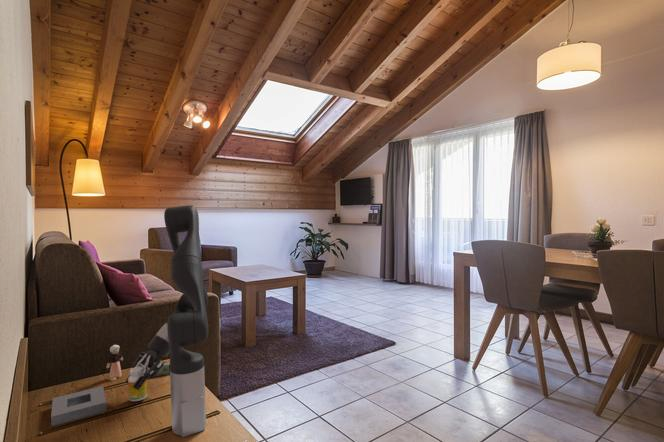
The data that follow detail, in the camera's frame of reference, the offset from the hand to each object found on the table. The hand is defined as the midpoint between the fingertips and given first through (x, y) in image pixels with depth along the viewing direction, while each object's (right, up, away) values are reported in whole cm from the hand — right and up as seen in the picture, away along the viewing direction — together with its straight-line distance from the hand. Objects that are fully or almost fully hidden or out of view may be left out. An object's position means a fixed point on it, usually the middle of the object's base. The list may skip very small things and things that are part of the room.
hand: (131, 385), depth 125 cm
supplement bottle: (+1, -5, +2) cm, 5 cm away
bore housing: (-15, -6, -4) cm, 16 cm away
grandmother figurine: (-16, -6, +20) cm, 26 cm away
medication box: (-2, -6, +22) cm, 23 cm away
